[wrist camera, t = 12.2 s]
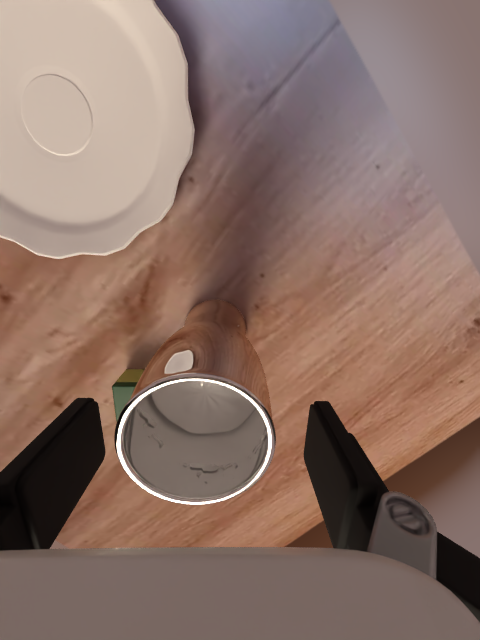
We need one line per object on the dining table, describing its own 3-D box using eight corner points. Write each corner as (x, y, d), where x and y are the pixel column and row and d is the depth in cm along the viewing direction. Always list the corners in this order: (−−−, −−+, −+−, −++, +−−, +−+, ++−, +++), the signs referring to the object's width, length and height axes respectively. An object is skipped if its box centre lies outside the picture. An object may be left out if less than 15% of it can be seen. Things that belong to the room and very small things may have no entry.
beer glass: (216, 373, 26) (199, 532, 11) (165, 328, 24) (71, 448, 10) (264, 329, 25) (315, 443, 10) (215, 279, 23) (191, 332, 9)
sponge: (126, 368, 25) (111, 386, 22) (185, 369, 25) (179, 386, 22) (134, 440, 28) (121, 465, 24) (187, 440, 28) (182, 464, 25)
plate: (245, 161, 20) (247, 154, 19) (61, 301, 23) (48, 305, 21) (56, -164, 15) (35, -214, 13) (-158, 67, 17) (-197, 48, 16)
